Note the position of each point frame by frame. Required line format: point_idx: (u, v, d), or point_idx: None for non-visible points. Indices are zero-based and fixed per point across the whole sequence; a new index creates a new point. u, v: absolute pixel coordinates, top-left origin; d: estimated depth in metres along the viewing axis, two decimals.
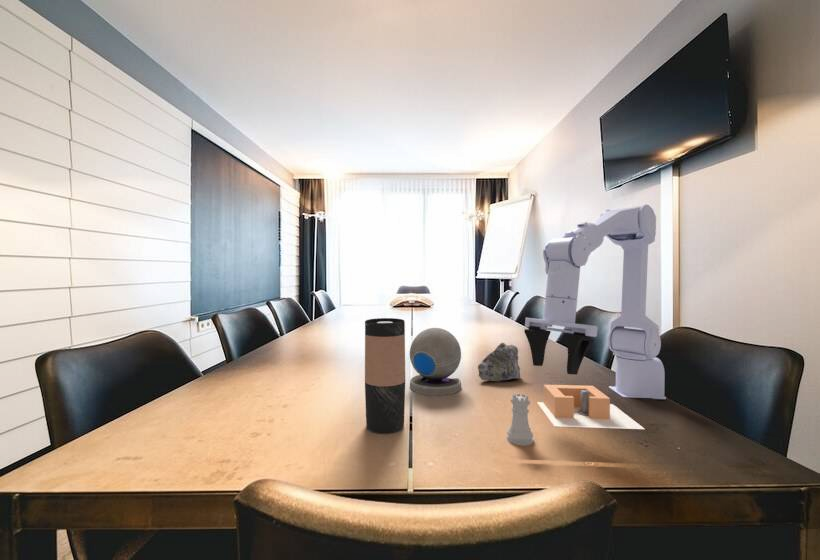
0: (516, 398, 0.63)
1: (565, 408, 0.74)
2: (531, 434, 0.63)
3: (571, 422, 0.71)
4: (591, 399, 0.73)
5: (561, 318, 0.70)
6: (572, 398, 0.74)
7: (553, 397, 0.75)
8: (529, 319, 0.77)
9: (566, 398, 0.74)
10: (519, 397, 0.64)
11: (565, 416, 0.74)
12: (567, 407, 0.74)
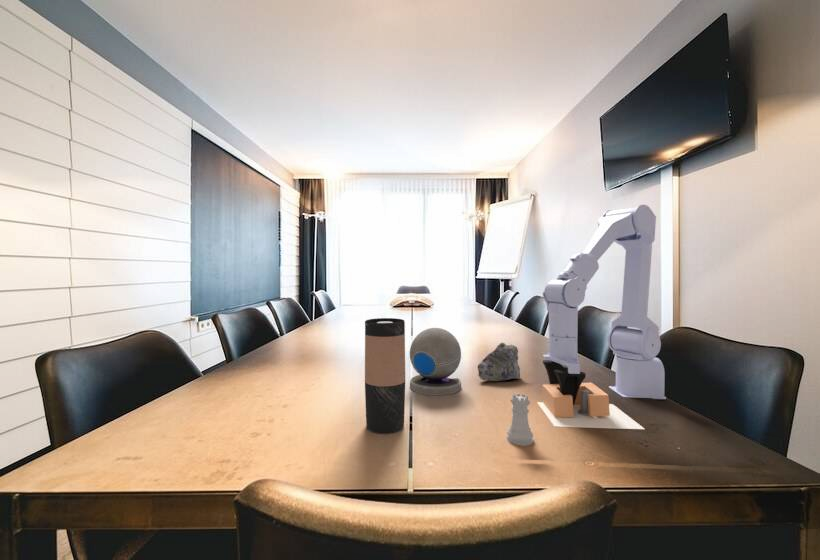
0: (516, 398, 0.63)
1: (564, 407, 0.74)
2: (531, 434, 0.63)
3: (571, 422, 0.71)
4: (590, 397, 0.73)
5: (555, 355, 0.79)
6: (571, 397, 0.74)
7: (552, 397, 0.75)
8: None
9: (565, 397, 0.74)
10: (519, 397, 0.64)
11: (565, 415, 0.74)
12: (566, 406, 0.74)
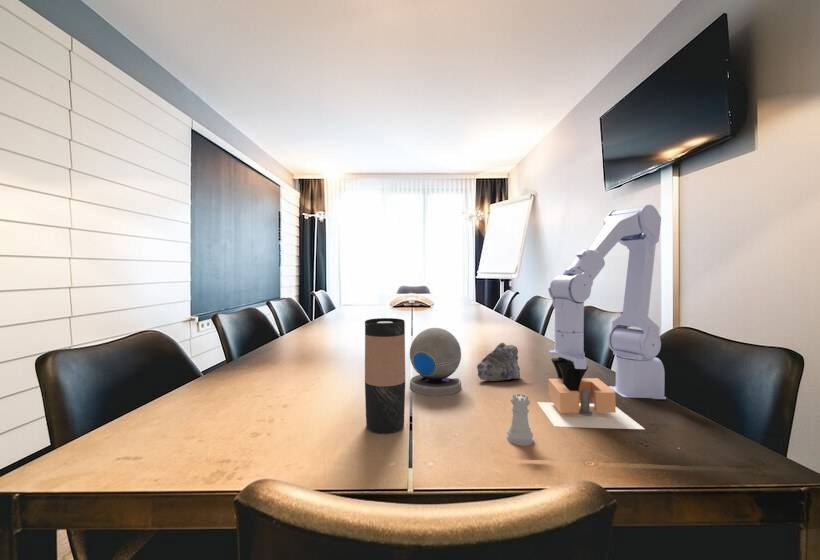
0: (516, 398, 0.63)
1: (570, 403, 0.74)
2: (531, 434, 0.63)
3: (571, 422, 0.71)
4: (596, 393, 0.73)
5: (561, 350, 0.79)
6: (577, 393, 0.73)
7: (558, 392, 0.75)
8: (555, 347, 0.87)
9: (571, 393, 0.73)
10: (519, 397, 0.64)
11: (571, 411, 0.74)
12: (572, 402, 0.74)
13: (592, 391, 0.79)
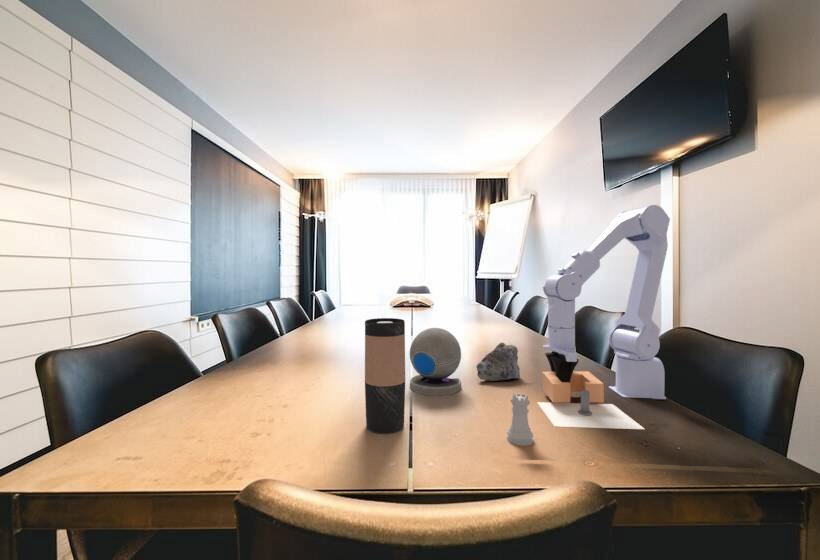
0: (516, 398, 0.63)
1: (562, 394, 0.79)
2: (531, 434, 0.63)
3: (571, 422, 0.71)
4: (586, 385, 0.79)
5: (554, 345, 0.85)
6: (569, 384, 0.79)
7: (551, 384, 0.80)
8: None
9: (563, 384, 0.79)
10: (519, 397, 0.64)
11: (562, 401, 0.80)
12: (564, 393, 0.79)
13: (583, 383, 0.84)
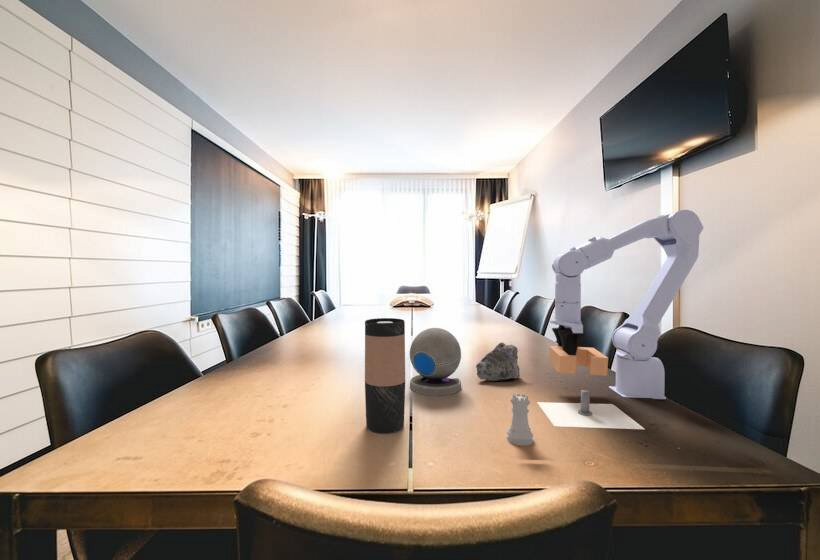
0: (516, 398, 0.63)
1: (568, 365, 0.84)
2: (531, 434, 0.63)
3: (571, 422, 0.71)
4: (591, 358, 0.84)
5: (561, 319, 0.89)
6: (575, 357, 0.84)
7: (558, 356, 0.85)
8: None
9: (570, 357, 0.84)
10: (519, 397, 0.64)
11: (568, 372, 0.84)
12: (570, 365, 0.84)
13: (587, 358, 0.89)
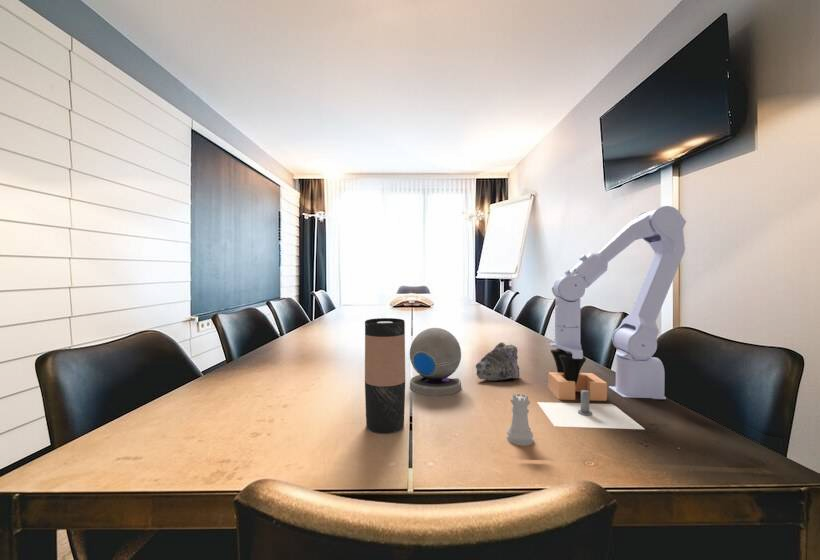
0: (516, 398, 0.63)
1: (568, 391, 0.84)
2: (531, 434, 0.63)
3: (571, 422, 0.71)
4: (590, 383, 0.84)
5: (561, 343, 0.89)
6: (574, 383, 0.84)
7: (557, 382, 0.85)
8: (555, 340, 0.97)
9: (568, 383, 0.84)
10: (519, 397, 0.64)
11: (568, 398, 0.84)
12: (569, 391, 0.84)
13: (587, 383, 0.89)
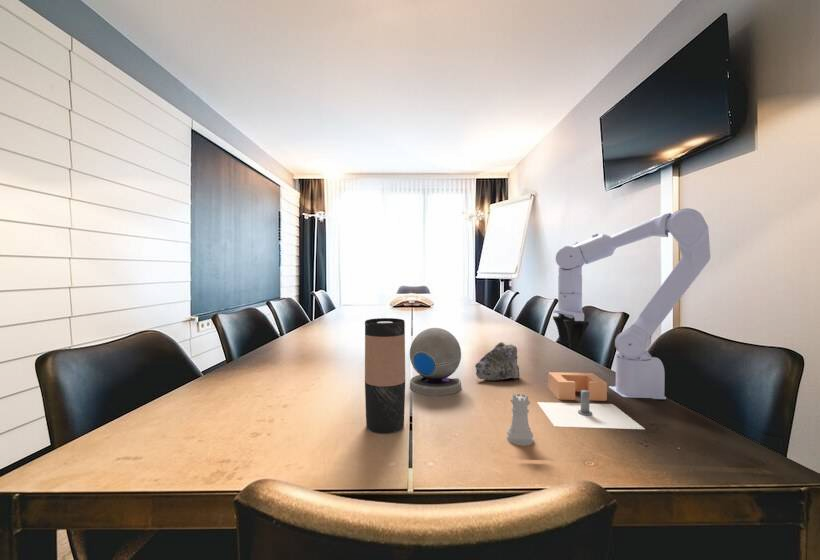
0: (516, 398, 0.63)
1: (568, 391, 0.84)
2: (531, 434, 0.63)
3: (571, 422, 0.71)
4: (590, 383, 0.84)
5: (564, 308, 0.96)
6: (574, 383, 0.84)
7: (557, 382, 0.85)
8: None
9: (568, 383, 0.84)
10: (519, 397, 0.64)
11: (568, 398, 0.84)
12: (569, 391, 0.84)
13: (587, 383, 0.89)
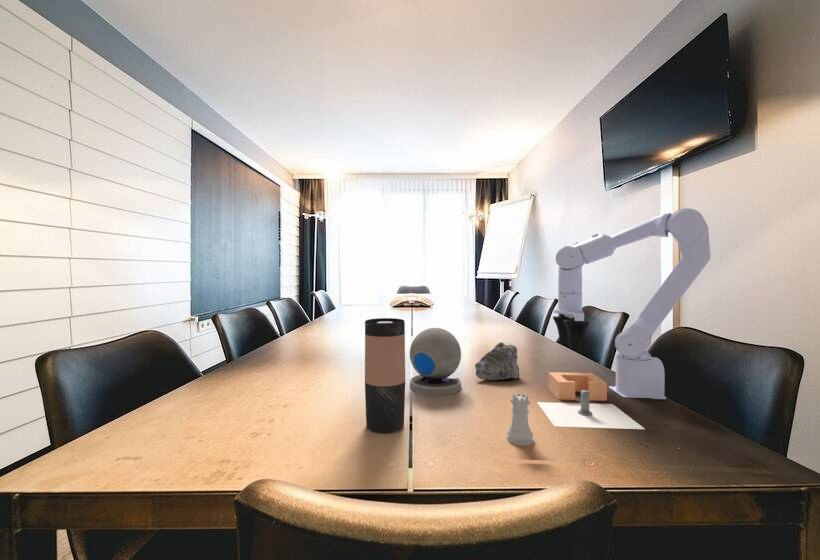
0: (516, 398, 0.63)
1: (568, 391, 0.84)
2: (531, 434, 0.63)
3: (571, 422, 0.71)
4: (590, 383, 0.84)
5: (564, 308, 0.96)
6: (574, 383, 0.84)
7: (557, 382, 0.85)
8: None
9: (568, 383, 0.84)
10: (519, 397, 0.64)
11: (568, 398, 0.84)
12: (569, 391, 0.84)
13: (587, 383, 0.89)
